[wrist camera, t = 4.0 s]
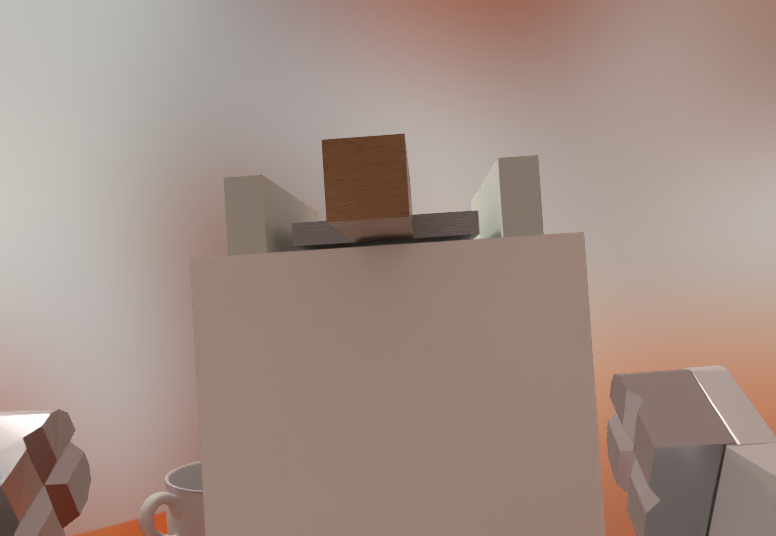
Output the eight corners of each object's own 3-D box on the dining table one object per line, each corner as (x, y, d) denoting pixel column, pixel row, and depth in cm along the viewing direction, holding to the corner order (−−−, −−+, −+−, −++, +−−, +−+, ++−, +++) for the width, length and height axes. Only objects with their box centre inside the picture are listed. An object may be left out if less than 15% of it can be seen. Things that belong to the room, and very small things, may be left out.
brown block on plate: (323, 254, 38) (320, 212, 38) (465, 245, 38) (463, 202, 38) (231, 229, 20) (226, 146, 20) (507, 210, 19) (502, 126, 20)
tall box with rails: (295, 684, 42) (267, 216, 43) (555, 675, 42) (522, 198, 42) (226, 905, 27) (185, 180, 28) (631, 897, 27) (578, 152, 27)
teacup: (251, 526, 72) (247, 449, 72) (308, 553, 64) (303, 466, 64) (116, 567, 63) (112, 480, 63) (161, 605, 55) (156, 504, 55)
